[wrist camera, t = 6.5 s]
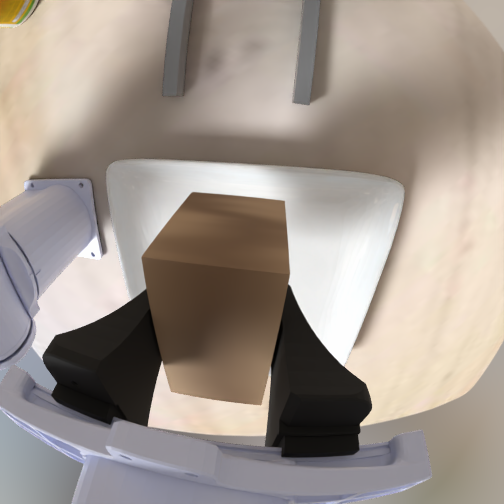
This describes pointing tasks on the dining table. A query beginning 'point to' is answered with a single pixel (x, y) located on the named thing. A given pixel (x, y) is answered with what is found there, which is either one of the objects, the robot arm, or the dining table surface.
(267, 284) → the tan cardboard box
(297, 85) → the bay
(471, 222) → the dining table surface
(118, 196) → the salad plate
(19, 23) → the supplement bottle
